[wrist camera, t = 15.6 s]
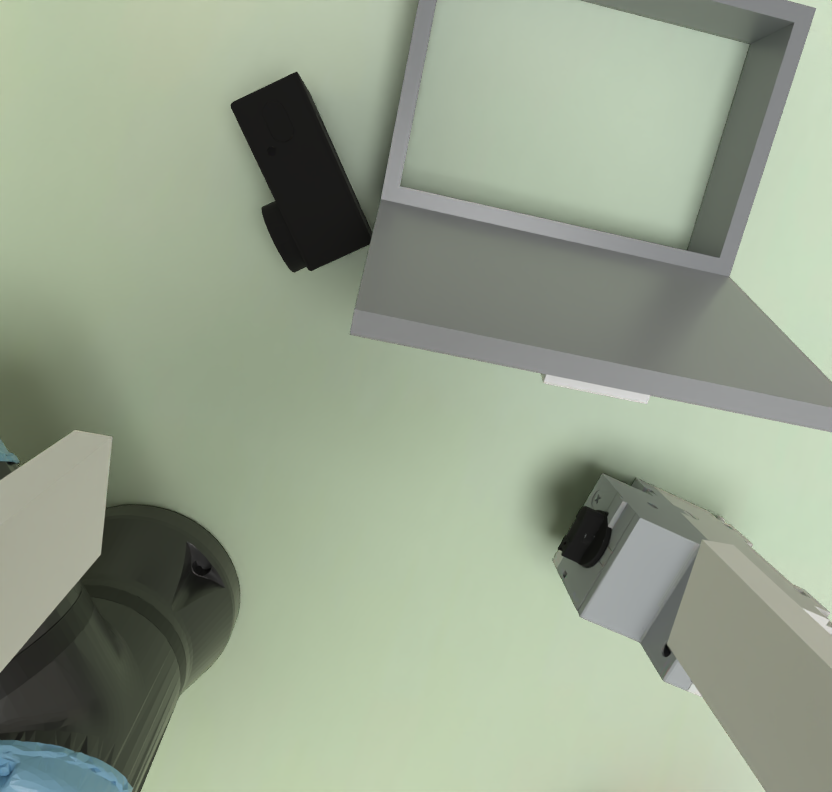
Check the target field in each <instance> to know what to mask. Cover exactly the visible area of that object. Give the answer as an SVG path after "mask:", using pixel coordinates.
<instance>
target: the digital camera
mask: <svg viewBox="0 0 832 792" xmlns="http://www.w3.org/2000/svg"><path fill="white" fill-rule="evenodd" d="M231 109H232V111H233V113H234V115H235V117H236V119H237V121H238V123H239V125H240V127H241V130H242V132H243V134H244V136H245V138H246V140H247V142H248V144H249V146H250V148H251V151H252V153H253V155H254V157H255V159H256V161H257V163H258V165H259V167H260V169H261V172H262V174H263V176H264V178H265V180H266V182H267V184H268V186H269V188H270V190H271V193H272V195H273V197H274V199H275V202H272V203H270V204H268V205H266V206H263V207H262V215H263V218H264V221H265V224H266V226H267V229H268V231H269V233H270V236H271V238H272V240H273V242H274V244H275V246H276V248H277V250H278V252H279V253H280V255H281V257H282V259H283V260H284V262H285V263H286V265H287V266H288V268H289V269H290V270H291V271H292V272H296V271H299V270H301V269H303V268H305V267H307V268H308V270H310V271H312V270H314V269H317V268H319V267H321V266H323V265H325V264H328V263H330V262H332V261H334V260H336V259H339V258H341V257H343V256H345V255H347V254H350V253H352V252H354V251H356V250H358V249H361V248H363V247H365V246H367V245H369V244H370V242H371V238H372V231H371V229H370V227H369V225H368V222H367V220H366V218H365V216H364V213H363V211H362V209H361V207H360V204H359V202H358V200H357V198H356V195H355V193H354V191H353V189H352V186H351V184H350V182H349V180H348V177H347V175H346V173H345V171H344V168H343V166H342V164H341V162H340V159H339V157H338V155H337V153H336V150H335V148H334V146H333V144H332V141H331V139H330V137H329V135H328V132H327V130H326V128H325V126H324V123H323V121H322V119H321V117H320V114H319V112H318V110H317V108H316V105H315V103H314V101H313V99H312V96H311V94H310V92H309V91H308V89H307V87H306V86H305V84H304V82H303V81H302V79H301V77H300V76H299V74H298V72H295V73H293V74H290V75H288V76H286V77H284V78H282V79H280V80H278V81H276V82H274V83H272V84H270V85H268V86H266V87H263V88H261V89H259V90H257V91H255V92H253V93H251V94H249V95H247V96H245V97H242V98H240V99H238V100H236V101H234V102H233V103H231Z"/></svg>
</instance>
